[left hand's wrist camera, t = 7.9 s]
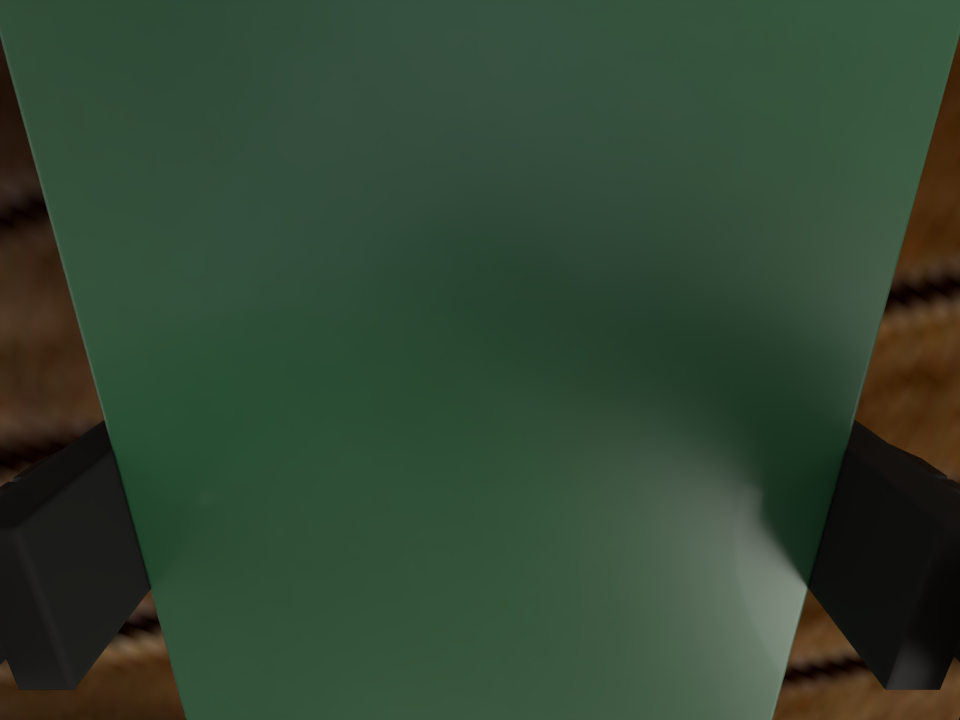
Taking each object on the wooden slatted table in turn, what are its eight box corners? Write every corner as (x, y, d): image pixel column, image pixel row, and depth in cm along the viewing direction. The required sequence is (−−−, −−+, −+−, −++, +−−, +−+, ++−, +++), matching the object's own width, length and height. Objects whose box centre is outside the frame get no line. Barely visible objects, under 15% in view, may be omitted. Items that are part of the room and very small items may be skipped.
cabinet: (245, -322, 13) (-556, -1964, 3) (713, -322, 13) (1513, -1947, 3) (330, 450, 20) (187, 735, 10) (627, 450, 20) (770, 734, 10)
